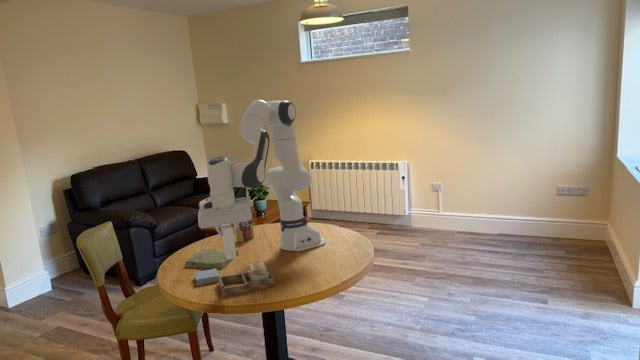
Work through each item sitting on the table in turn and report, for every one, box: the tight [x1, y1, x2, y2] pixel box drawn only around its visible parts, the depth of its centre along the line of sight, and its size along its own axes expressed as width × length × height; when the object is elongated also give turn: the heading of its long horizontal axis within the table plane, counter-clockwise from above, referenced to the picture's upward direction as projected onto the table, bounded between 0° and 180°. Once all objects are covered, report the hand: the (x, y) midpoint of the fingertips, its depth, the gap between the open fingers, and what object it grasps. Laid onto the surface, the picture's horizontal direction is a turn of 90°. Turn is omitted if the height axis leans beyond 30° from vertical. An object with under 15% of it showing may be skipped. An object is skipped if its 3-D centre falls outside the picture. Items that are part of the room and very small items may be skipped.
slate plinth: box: [194, 268, 220, 287], centre depth 189 cm, size 9×9×2 cm
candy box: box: [235, 218, 255, 243], centre depth 239 cm, size 9×4×15 cm, turn 140°
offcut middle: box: [247, 270, 269, 282], centre depth 181 cm, size 6×8×2 cm
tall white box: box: [220, 224, 237, 260], centre depth 175 cm, size 4×9×12 cm, turn 19°
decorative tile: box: [183, 248, 240, 269], centre depth 211 cm, size 19×20×4 cm
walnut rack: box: [218, 266, 275, 297], centre depth 180 cm, size 20×13×4 cm, turn 109°
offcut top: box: [249, 261, 267, 277], centre depth 181 cm, size 6×8×2 cm
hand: (227, 235), depth 175 cm, fingers closed on tall white box, 3 cm apart
